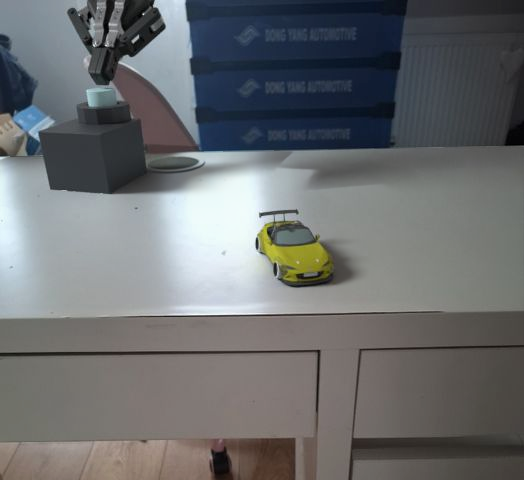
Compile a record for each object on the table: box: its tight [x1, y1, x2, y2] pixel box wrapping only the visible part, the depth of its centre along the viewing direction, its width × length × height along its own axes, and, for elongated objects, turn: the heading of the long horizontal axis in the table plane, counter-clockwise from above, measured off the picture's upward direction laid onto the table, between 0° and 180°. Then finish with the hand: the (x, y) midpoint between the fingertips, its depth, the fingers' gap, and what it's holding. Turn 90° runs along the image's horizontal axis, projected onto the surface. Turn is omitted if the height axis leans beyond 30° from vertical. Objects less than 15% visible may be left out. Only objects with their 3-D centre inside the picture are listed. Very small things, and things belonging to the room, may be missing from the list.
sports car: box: [254, 208, 335, 287], centre depth 47 cm, size 5×10×3 cm, turn 14°
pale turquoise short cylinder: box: [86, 87, 118, 107], centre depth 68 cm, size 3×3×2 cm
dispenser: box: [37, 99, 148, 195], centre depth 68 cm, size 11×8×8 cm
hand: (99, 80), depth 67 cm, fingers closed
